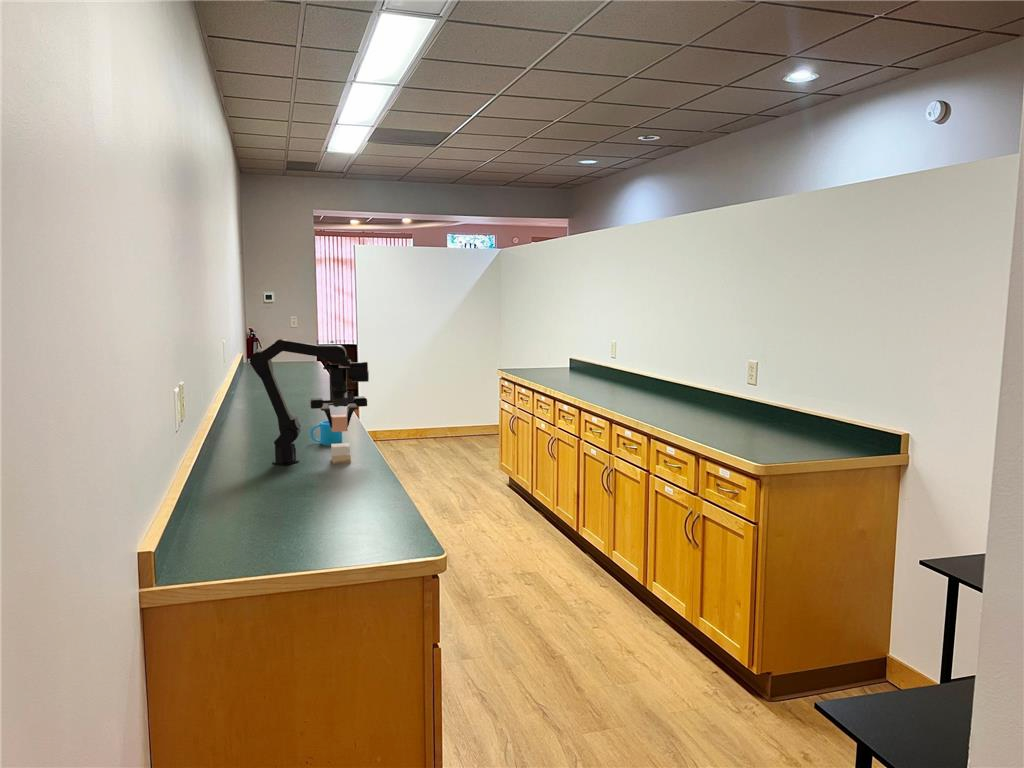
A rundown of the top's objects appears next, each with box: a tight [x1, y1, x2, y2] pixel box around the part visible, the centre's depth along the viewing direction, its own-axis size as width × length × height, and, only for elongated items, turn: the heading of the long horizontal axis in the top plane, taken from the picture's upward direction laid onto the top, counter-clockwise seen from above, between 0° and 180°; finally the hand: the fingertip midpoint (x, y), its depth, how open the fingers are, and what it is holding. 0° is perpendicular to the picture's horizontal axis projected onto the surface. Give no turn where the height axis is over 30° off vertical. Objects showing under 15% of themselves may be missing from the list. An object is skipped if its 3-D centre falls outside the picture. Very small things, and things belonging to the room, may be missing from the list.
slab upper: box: [330, 442, 351, 457], centre depth 257 cm, size 6×6×3 cm
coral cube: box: [331, 413, 349, 433], centre depth 256 cm, size 5×5×5 cm
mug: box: [309, 420, 343, 446], centre depth 287 cm, size 12×8×8 cm
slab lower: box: [331, 454, 352, 465], centre depth 257 cm, size 6×6×3 cm
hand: (339, 427), depth 256 cm, fingers closed on coral cube, 5 cm apart
